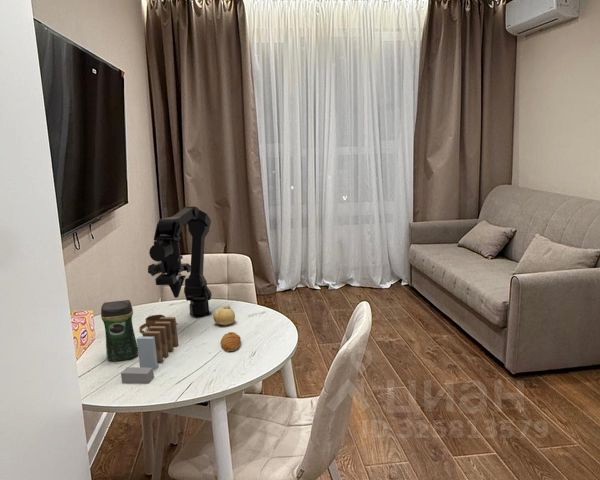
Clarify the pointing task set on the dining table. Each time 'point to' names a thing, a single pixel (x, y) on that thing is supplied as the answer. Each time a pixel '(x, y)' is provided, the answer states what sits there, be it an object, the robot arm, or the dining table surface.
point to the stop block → (137, 375)
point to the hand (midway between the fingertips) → (176, 297)
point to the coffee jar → (119, 330)
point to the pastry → (230, 341)
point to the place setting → (151, 321)
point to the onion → (224, 316)
